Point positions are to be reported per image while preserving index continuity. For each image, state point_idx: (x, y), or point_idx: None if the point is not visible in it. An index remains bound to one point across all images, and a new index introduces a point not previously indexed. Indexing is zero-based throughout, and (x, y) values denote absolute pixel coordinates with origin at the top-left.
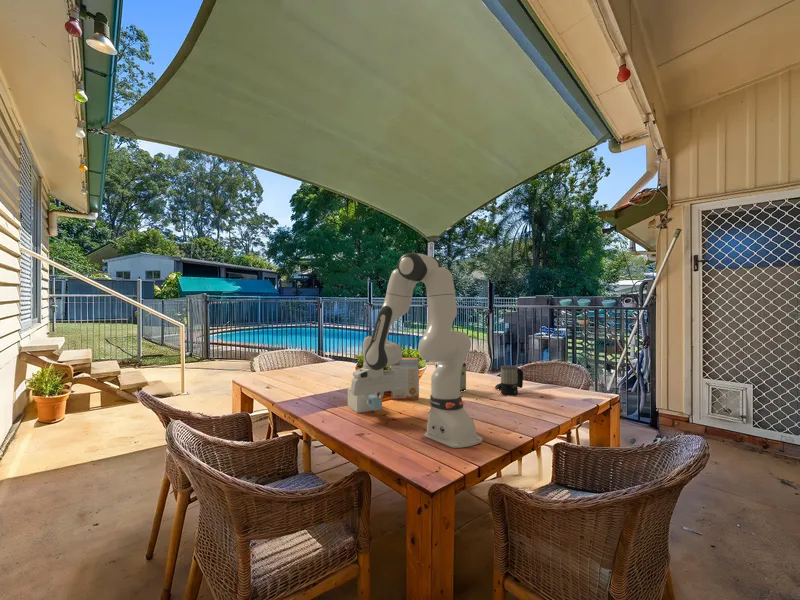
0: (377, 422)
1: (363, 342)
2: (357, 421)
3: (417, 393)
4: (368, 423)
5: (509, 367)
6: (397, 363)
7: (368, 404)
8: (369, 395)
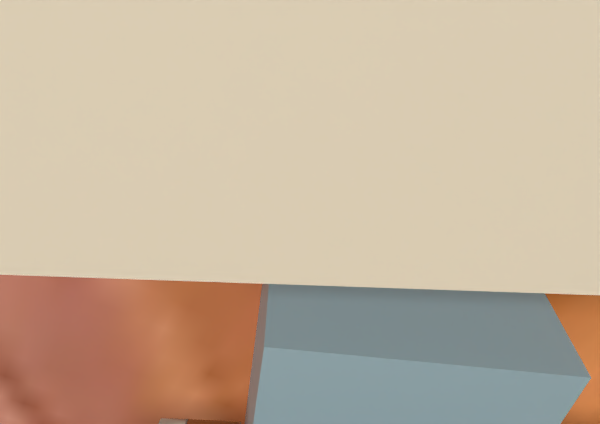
0: (244, 416)
1: None
2: (19, 310)
3: None
4: (138, 402)
5: None
6: None
7: (263, 285)
8: (387, 365)
